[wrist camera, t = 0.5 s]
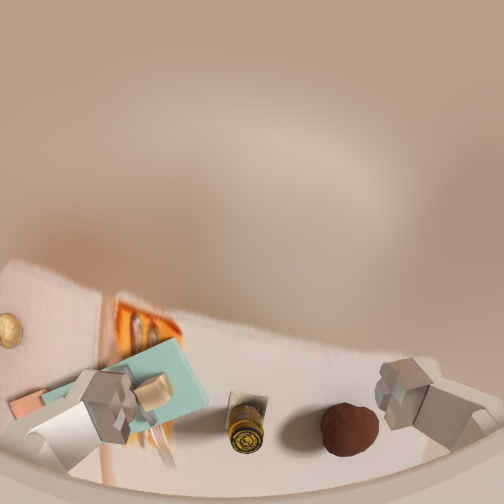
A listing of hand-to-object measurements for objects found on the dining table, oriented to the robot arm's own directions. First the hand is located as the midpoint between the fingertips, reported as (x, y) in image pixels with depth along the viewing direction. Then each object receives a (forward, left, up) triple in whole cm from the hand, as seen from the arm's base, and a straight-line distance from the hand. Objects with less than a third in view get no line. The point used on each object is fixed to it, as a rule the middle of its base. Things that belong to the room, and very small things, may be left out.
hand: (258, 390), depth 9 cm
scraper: (-5, +20, -46) cm, 50 cm away
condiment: (-18, +7, -50) cm, 54 cm away
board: (-5, +29, -50) cm, 58 cm away
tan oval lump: (+18, +49, -50) cm, 73 cm away
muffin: (-30, -9, -50) cm, 59 cm away
